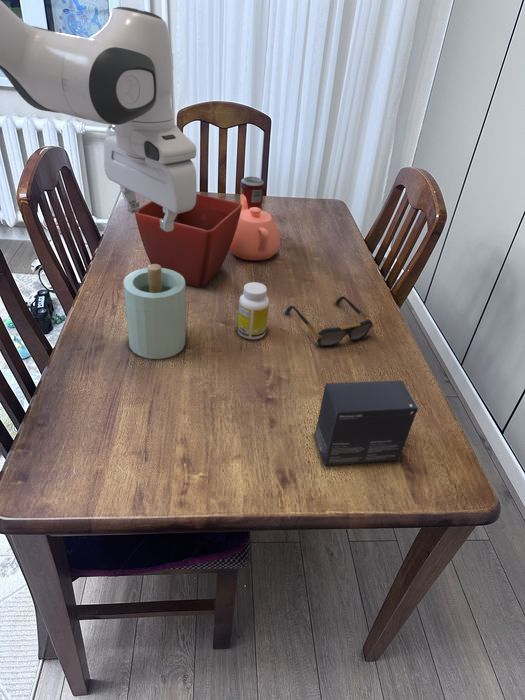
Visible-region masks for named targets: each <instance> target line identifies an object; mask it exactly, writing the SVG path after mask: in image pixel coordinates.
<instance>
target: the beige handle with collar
mask: <svg viewBox="0 0 525 700" xmlns="http://www.w3.org/2000/svg"><path fill="white" fill-rule="evenodd" d="M147 268H148V278H149V293H161V292H162V271H161V266H160V265H158V264H151V263H150V264H149V265H148V266H147Z"/></svg>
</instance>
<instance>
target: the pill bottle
mask: <svg viewBox="0 0 525 700" xmlns="http://www.w3.org/2000/svg"><path fill="white" fill-rule="evenodd" d="M267 293H268V288H267V286H266V285H265V284H263V283H261V282H256V281H251V282H248V283H245V284H244V286H243V293H242V294H241V295H240V297H239V300H238V314H237V315H238V316H237V333H238V335H239V336H241V337H242V338H244V339H247V340H259V339H261V338H263V337H264V336H265V335H266V332H267V325H268V317H269V316H268V315H269V307H270V300H269V297H268V295H267Z"/></svg>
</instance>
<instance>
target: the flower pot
mask: <svg viewBox="0 0 525 700" xmlns="http://www.w3.org/2000/svg"><path fill="white" fill-rule="evenodd" d="M139 208H140V210H139V212H137V213H134V215H135V220H136V225H137V228H138V233H139V236H140V240H141V242H142V245H143V248H144V251H145V253H146V256H147V258H148V261H149V263H150V265H151V264H158V265H160V266H161V268H166V269H170V270H173V271H175V272H177V273H179V274H180V275H182V276H183V277H184V280H185V285H189V286H191V287H196V288H203V287H204V286H205V285H207V283H208V282H209V281H211V279H212V278H213V277H214V276H215V275H216V274H217V273H218V272H219V271H220V270H221V269H222V267H223V265H224V263H225V261H226V258H227V256H228V254H229V252H230V250H229V249H230V246H231V243H232V241H233V238H234V235H235V232H236V228H237V225H238V221H239V217H240V213H241V209H242V205H241V204H240V202H235V201H231V200H227V199H224V198H223V199H222V198H217V197H213V196H210V195H205V194H202V193H198V192H196V204H195V206H194V207H193V209H192V210H190V211H187V212H183V213H179V214H177V216H176V218H175V220H174V229H173V230H172V231H169V232H166V231H164V230H162V229H161V228H160V219H164V216H165V213H164V212H163V207H162V206H160V205H158V204H156V203H154V202H152V201H149V202H147V203H146V204H144V205H142V206H141V207H139Z"/></svg>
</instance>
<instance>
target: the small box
mask: <svg viewBox="0 0 525 700" xmlns="http://www.w3.org/2000/svg"><path fill="white" fill-rule="evenodd" d="M321 398H322V399H321V404H320V408H319V412H318V417H317V422H316V428H315V432H314V439H315V442H316V445H317V448H318V451H319V455H320V457H321V460H322V463H323V465H324V466H338V465H352V464H353V465H354V464H366V463H377V462H378V463H379V462H380V463H381V462H390V461H391V462H392V461H393V462H394V461H400V460H401V455H402V453H403V450H404V448H405V445H406V443H407V439H408V436H409V434H410V431H411V428H412V426H413V423H414V420H415V418H416V415H417V413H418V411H419V407H418V404H417V403H416V401H415V399H414V398H413V396H412V395H411V392H410V390H409V389H408V387H407V385H406V383H404V381H403V380H379V381H378V380H377V381H353V382H327V383H325V385H324V389H323V394H322V397H321Z"/></svg>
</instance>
